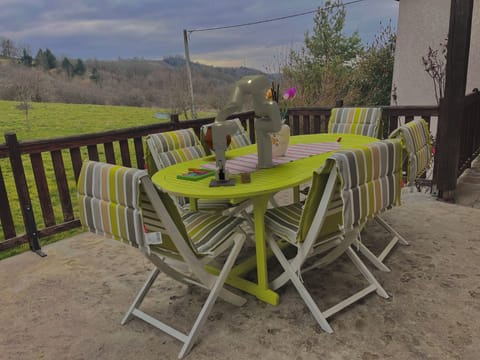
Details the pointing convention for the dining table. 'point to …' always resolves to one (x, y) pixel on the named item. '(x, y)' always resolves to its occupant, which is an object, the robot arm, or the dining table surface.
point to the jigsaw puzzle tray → (197, 174)
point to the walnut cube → (245, 177)
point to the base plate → (222, 182)
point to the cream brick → (224, 172)
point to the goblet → (210, 140)
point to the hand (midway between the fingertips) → (222, 178)
